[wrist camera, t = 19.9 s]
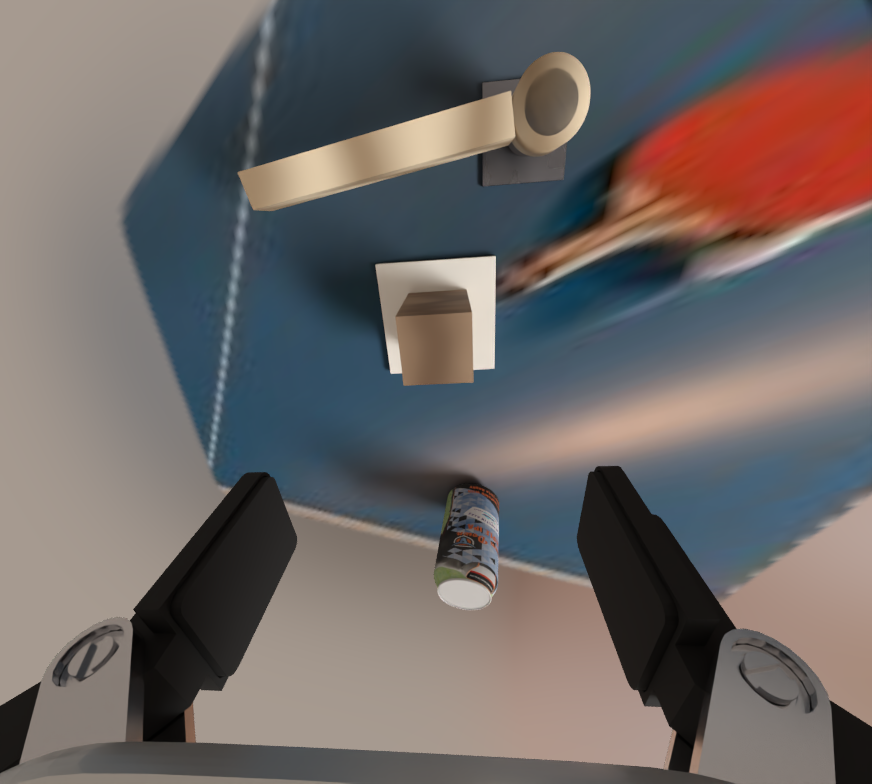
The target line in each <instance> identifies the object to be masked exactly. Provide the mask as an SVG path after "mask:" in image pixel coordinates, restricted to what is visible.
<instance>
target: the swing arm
mask: <svg viewBox="0 0 872 784" xmlns="http://www.w3.org/2000/svg"><path fill="white" fill-rule="evenodd" d="M589 103H590V83H589V78H588V75H587V72H586V70H585V68H584V67H583V65H582V64H581V63H580V62H579V60H577V59H576V58H575V57H574V56H572V55H570V54H567V53H564V52H553V53H548V54H546V55H543V56H542V57H540V58H538V59H537V60H536V61H534V62H533V63H532V64H531V65H530V66H529V67H528V68H527V70H526V71H525V72H524V74H523V75H522V77H521V79H520V81H519V83H518V85H517V87H516V89H515V91H514V93H513V95H511V91H508V92H505V93H501V94H498V95H495V96H491V97H488V98H485V99H481V100H478V101H474V102H471V103H468V104H464V105H461V106H458V107H454V108H451V109H448V110H444V111H441V112H438V113H434V114H431V115H428V116H424V117H421V118H418V119H414V120H411V121H408V122H404V123H401V124H398V125H394V126H391V127H388V128H384V129H381V130H378V131H374V132H371V133H367V134H364V135H361V136H357V137H354V138H351V139H347V140H344V141H341V142H337V143H334V144H331V145H327V146H324V147H321V148H317V149H314V150H311V151H307V152H304V153H301V154H297V155H294V156H291V157H287V158H284V159H281V160H277V161H274V162H270V163H267V164H264V165H260V166H257V167H254V168H250V169H247V170H244V171H240V172H238V175H239V177H240V179H241V182H242V184H243V187H244V189H245V191H246V194H247V196H248V199H249V201H250V204H251V206H252V208H253V210H260V211H274V210H278V209H281V208H285V207H288V206H292V205H296V204H299V203H303V202H307V201H310V200H314V199H317V198H321V197H325V196H328V195H332V194H335V193H339V192H343V191H346V190H350V189H353V188H357V187H361V186H364V185H368V184H371V183H375V182H379V181H382V180H386V179H389V178H393V177H397V176H400V175H404V174H407V173H411V172H415V171H418V170H422V169H425V168H429V167H433V166H436V165H440V164H443V163H447V162H451V161H454V160H458V159H461V158H465V157H469V156H472V155H476V154H479V153H483V152H487V151H490V150H494V149H497V148H501V147H505V146H509V148H510V149H511V151H512V152H513V153H515V154H516V155H519V156H533V157H539V156H544V155H546V154H549V153H551V152H552V151H554V150H555V149H557V148H558V147H560V146H561V145H563V144H564V143H566V142H567V141H568V140H570V139H571V138H572V137H573V136H574V135H575V134H576V132H577V131H578V130H579V128H580V127H581V125H582V123H583V122H584V119H585V117H586V114H587V112H588V108H589Z"/></svg>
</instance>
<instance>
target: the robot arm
mask: <svg viewBox="0 0 872 784" xmlns="http://www.w3.org/2000/svg"><path fill="white" fill-rule="evenodd" d="M577 543H578V548H579V551H580V553H581V556H582V559H583V562H584V564H585V567H586V570H587V572H588V575H589V578H590V581H591V583H592V586H593V589H594V592H595V594H596V597H597V600H598V602H599V605H600V608H601V610H602V613H603V616H604V619H605V621H606V624H607V627H608V629H609V632H610V635H611V638H612V640H613V643H614V646H615V648H616V651H617V654H618V656H619V659H620V662H621V665H622V668H623V670H624V673H625V675H626V678H627V681H628V683H629V685H630V687H631V688H632V689H633V690H638V691H639V693H640V696H641V698H642V701H643V704H644V706H652V707H653V706H655V707H662V710H663V712H664V715H665V717H666V719H667V722H668V724H669V726H670V727H671V728H672V729H673V730H672V734H671V738H670V743H669V747H668V751H667V755H666V759H665V764H664V768H663V769H658V768H651V767H639V766H624V765H613V764H599V763H587V762H573V761H556V760H539V759H521V758H503V757H484V756H466V755H448V754H429V753H409V752H407V753H406V752H389V751H369V750H348V749H328V748H306V747H284V746H262V745H240V744H239V745H238V744H216V743H196V737H195V724H194V710H193V701H194V699H195V697H196V695H197V693H198V691H199V690H200V689H201V690H215V691H222V689H223V687H224V685H225V683H226V681H227V679H228V677H229V676H231V675H233V674H234V673H235V671H236V670H237V668H238V666H239V664H240V662H241V660H242V658H243V656H244V653H245V652H246V650H247V648H248V646H249V644H250V641H251V639H252V637H253V635H254V633H255V631H256V629H257V627H258V625H259V623H260V621H261V619H262V617H263V615H264V612H265V610H266V608H267V606H268V604H269V602H270V600H271V598H272V596H273V594H274V592H275V590H276V587H277V585H278V583H279V581H280V579H281V577H282V575H283V573H284V571H285V569H286V567H287V565H288V562H289V561H290V558H291V556H292V554H293V552H294V550H295V548H296V544H297V536H296V533H295V530H294V528H293V526H292V523H291V520H290V517H289V515H288V512H287V510H286V507H285V504H284V502H283V499H282V497H281V494H280V491H279V489H278V486H277V484H276V481H275V479H274V478H273V477H270V475H269V474H268V473H266V472H254V473H246V474H244V475H243V476H242V477H241V478H240V480H239V481H238V482H237V483H236V485H235V486H234V487H233V488H232V489H231V491H230V492H229V493H228V494H227V496H226V497H225V498H224V499H223V500H222V502H221V503H220V504H219V505H218V507H217V508H216V509H215V510H214V511H213V513H212V514H211V515H210V516H209V518H208V519H207V520H206V521H205V522H204V524H203V525H202V526H201V527H200V529H199V530H198V531H197V532H196V533H195V535H194V536H193V537H192V538H191V540H190V541H189V542H188V543H187V544H186V546H185V547H184V548H183V549H182V551H181V552H180V553H179V554H178V555H177V557H176V558H175V559H174V560H173V562H172V563H171V564H170V565H169V567H168V568H167V569H166V570H165V571H164V573H163V574H162V575H161V576H160V577H159V579H158V580H157V581H156V582H155V584H154V585H153V586H152V587H151V589H150V590H149V591H148V592H147V593H146V595H145V596H144V597H143V598H142V599H141V601H140V602H139V603H138V605H137V606H136V607H135V608H134V609H133V610H134V611H135V612H136V614H135V615H134V616H133V617H132V619H131V620H130V621H129V620H128V619H127V618H122V617H116V618H111V619H107V620H104V621H102V622H99V623H97V624H95V625H93V626H91V627H90V628H88V629H87V630H85V631H83V632H82V633H80V634H79V635H78V636H76V637H75V638H74V639H73V640H71V641H70V642H69V643H68V644H67V645H66V646H65V647H64V648H63V649H62V650H61V651H60V652H59V653H58V654H57V655H56V656H55V658H54V659H53V660H52V662H51V663H50V664H49V666H48V667H47V669H46V671H45V674H44V676H43V678H42V681H41V682H39V683H38V684H36V685H34V686H33V687H31V688H29V689H28V690H26V691H24V692H23V693H21V694H19V695H18V696H16V697H14V698H13V699H11V700H9V701H8V702H6V703H5V704H3V705H1V706H0V784H872V727H871V726H870V725H868V724H866V723H865V722H863V721H862V720H860V719H859V718H857V717H855V716H854V715H852V714H851V713H849V712H847V711H846V710H844V709H843V708H841V707H840V706H838V705H837V704H835V703H833V702H832V701H830V700H829V698H828V694H827V692H826V690H825V688H824V687H823V685H822V683H821V681H820V680H819V678H818V677H817V675H816V674H815V673H814V672H813V671H812V670H811V668H810V667H809V666H808V665H807V664H806V663H805V662H804V661H803V660H802V659H801V658H800V657H799V656H797V655H796V654H795V653H794V652H792V650H790V649H789V648H788V647H786V646H784V645H783V644H781V643H780V642H778V641H777V640H775V639H773V638H771V637H769V636H766V635H764V634H762V633H760V632H757V631H752V630H748V629H736V627H735V626H734V624H733V623H732V621H731V620H730V619H729V617H728V616H727V614H726V613H725V611H724V610H723V608H722V607H721V605H720V604H719V602H718V601H717V599H716V598H715V596H714V595H713V593H712V592H711V591H710V589H709V588H708V586H707V585H706V583H705V582H704V580H703V579H702V577H701V576H700V574H699V573H698V571H697V570H696V568H695V567H694V565H693V564H692V563H691V561H690V560H689V558H688V557H687V555H686V554H685V552H684V551H683V549H682V548H681V546H680V545H679V543H678V542H677V540H676V539H675V537H674V536H673V534H672V533H671V532H670V530H669V529H668V527H667V526H666V524H665V523H664V522H663V520H662V519H661V518H660V517H658V516H657V515H652V514H651V513H650V511H649V510H648V508H647V506H646V505H645V503H644V502H643V500H642V499H641V497H640V496H639V494H638V493H637V491H636V490H635V488H634V487H633V485H632V484H631V482H630V480H629V479H628V477H627V476H626V474H625V473H624V471H623V470H622V469H621V467H619V466H598V467H596V468H595V471H594V472H590V473H589V475H588V480H587V485H586V491H585V496H584V501H583V507H582V512H581V517H580V523H579V528H578V533H577Z"/></svg>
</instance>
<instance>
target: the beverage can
mask: <svg viewBox="0 0 872 784" xmlns="http://www.w3.org/2000/svg"><path fill="white" fill-rule="evenodd" d="M498 543H499V501H498V498H497V496H496V495H495V494H494V493H493V492H492V491H491V490H490V489H488V488H486V487H484V486H481V485H477V484H463V485H459V486H457V487H455V488H453V489H452V490H451V491H450V493H449V495H448V498H447V504H446V509H445V515H444V520H443V526H442V531H441V537H440V542H439V548H438V553H437V559H436V565H435V570H434V579H435V583H436V585H437V587H438V589H437V592H438V595H439V597H440V598H441V599H442V600H443V601H444V602H445V603H447V604H449V605H450V606H453V607H455V608H459V609H464V610H479V609H482V608H485V607H487V606H488V605H489V604H490V602H491V597H492V596H493V595H494V593H495V592H496V589H497V586H498Z"/></svg>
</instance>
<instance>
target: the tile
mask: <svg viewBox="0 0 872 784" xmlns="http://www.w3.org/2000/svg"><path fill="white" fill-rule="evenodd" d="M375 266H376V273H377V280H378V287H379V294H380V301H381V308H382V315H383V322H384V330H385V337H386V344H387V351H388V358H389V365H390V372H391V374H395V373H402V367H401V359H400V351H399V343H398V335H397V327H396V319H395V316H396V315H397V313H398V311H399V309H400V307H401V306H402V304H403V302H404V300H405V299H406V297H407V295H408V293H418V292H434V291H450V290H467V294H468V298H469V302H470V306H471V310H472V333H473V370H478V369H494V358H495V278H496V256H481V257H467V258H452V259H438V260H423V261H409V262H394V263H380V264H375Z"/></svg>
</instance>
